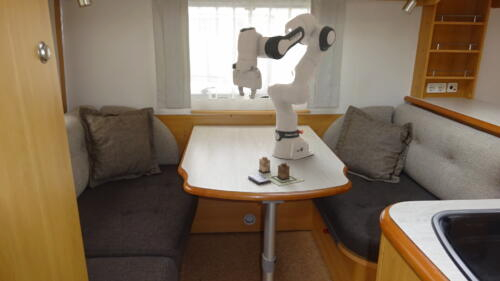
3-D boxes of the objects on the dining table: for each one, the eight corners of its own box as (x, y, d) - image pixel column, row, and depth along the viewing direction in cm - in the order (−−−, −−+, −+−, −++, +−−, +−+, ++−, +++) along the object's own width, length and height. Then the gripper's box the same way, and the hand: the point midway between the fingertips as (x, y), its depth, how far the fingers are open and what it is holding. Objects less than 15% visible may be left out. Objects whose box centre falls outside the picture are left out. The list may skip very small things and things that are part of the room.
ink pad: (259, 176, 165) (259, 173, 164) (270, 182, 157) (270, 180, 157) (248, 178, 162) (248, 175, 161) (258, 185, 154) (258, 182, 154)
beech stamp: (265, 169, 173) (266, 155, 171) (270, 172, 170) (270, 157, 168) (258, 171, 171) (258, 156, 169) (263, 173, 168) (263, 159, 166)
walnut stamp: (284, 176, 164) (285, 161, 162) (289, 179, 161) (290, 164, 159) (277, 177, 162) (277, 162, 160) (282, 180, 159) (282, 165, 157)
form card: (287, 172, 170) (287, 171, 170) (303, 180, 160) (304, 179, 160) (264, 177, 163) (264, 176, 163) (279, 186, 153) (279, 185, 153)
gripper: (265, 67, 153) (265, 100, 157) (242, 64, 171) (242, 94, 174) (253, 67, 150) (252, 101, 154) (230, 64, 167) (230, 94, 171)
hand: (246, 97), depth 164 cm, fingers open, 8 cm apart
